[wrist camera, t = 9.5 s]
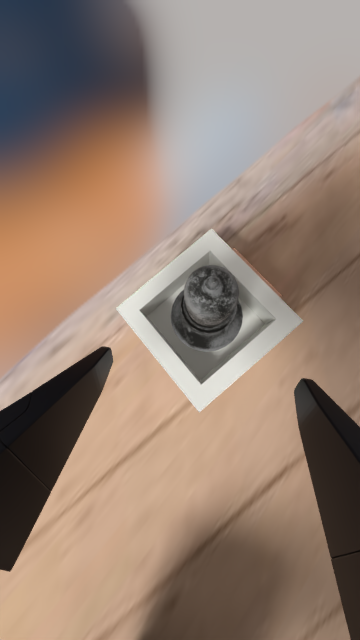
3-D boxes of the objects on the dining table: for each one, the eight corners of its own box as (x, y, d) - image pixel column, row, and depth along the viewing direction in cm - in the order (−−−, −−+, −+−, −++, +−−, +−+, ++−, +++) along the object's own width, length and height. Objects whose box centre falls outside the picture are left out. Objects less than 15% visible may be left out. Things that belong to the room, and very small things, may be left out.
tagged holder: (286, 324, 21) (307, 317, 17) (198, 400, 20) (199, 412, 16) (211, 247, 23) (214, 225, 19) (129, 316, 22) (115, 308, 18)
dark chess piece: (225, 286, 21) (260, 200, 9) (242, 343, 20) (307, 329, 8) (169, 301, 21) (132, 237, 9) (183, 358, 20) (162, 366, 8)
